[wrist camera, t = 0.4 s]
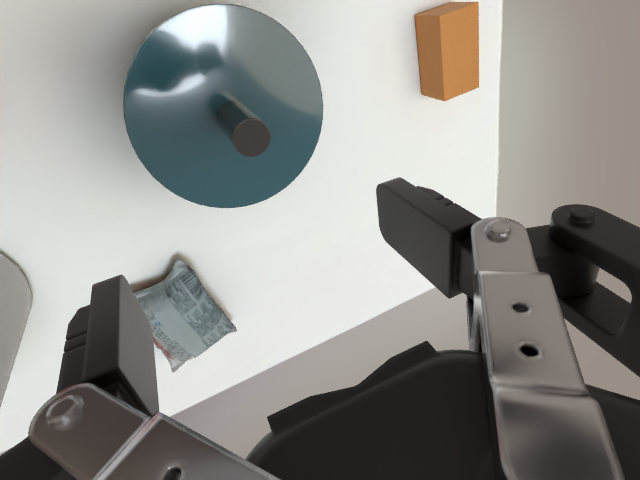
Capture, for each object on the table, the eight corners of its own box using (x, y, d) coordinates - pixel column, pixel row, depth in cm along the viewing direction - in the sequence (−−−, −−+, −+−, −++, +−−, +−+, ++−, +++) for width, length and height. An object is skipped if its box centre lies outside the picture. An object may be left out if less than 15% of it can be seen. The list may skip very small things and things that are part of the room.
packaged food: (169, 355, 48) (174, 386, 44) (105, 290, 41) (104, 319, 37) (234, 317, 49) (244, 344, 45) (182, 247, 42) (189, 271, 38)
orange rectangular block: (414, 14, 40) (439, 15, 37) (451, 1, 41) (478, 1, 38) (421, 94, 44) (444, 101, 41) (454, 81, 45) (479, 87, 42)
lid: (79, 133, 27) (68, 165, 21) (206, -52, 25) (227, -68, 19) (246, 231, 35) (267, 271, 30) (350, 99, 33) (393, 117, 28)
